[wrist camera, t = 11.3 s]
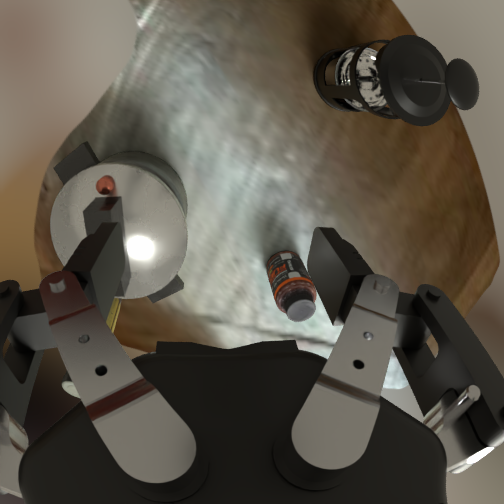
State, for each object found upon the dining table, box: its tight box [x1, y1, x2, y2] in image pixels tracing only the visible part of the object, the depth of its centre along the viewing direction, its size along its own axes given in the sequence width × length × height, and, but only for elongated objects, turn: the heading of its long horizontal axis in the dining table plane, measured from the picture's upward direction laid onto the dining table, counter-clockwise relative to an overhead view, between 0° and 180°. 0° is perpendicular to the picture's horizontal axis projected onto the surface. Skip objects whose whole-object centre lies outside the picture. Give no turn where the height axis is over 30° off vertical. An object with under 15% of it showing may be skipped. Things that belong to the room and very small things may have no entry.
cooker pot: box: [54, 142, 188, 303], centre depth 36 cm, size 22×17×9 cm
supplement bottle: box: [266, 251, 316, 322], centre depth 43 cm, size 6×6×11 cm
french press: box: [314, 35, 479, 126], centre depth 24 cm, size 12×9×23 cm
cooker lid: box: [50, 162, 188, 299], centre depth 30 cm, size 17×17×5 cm
